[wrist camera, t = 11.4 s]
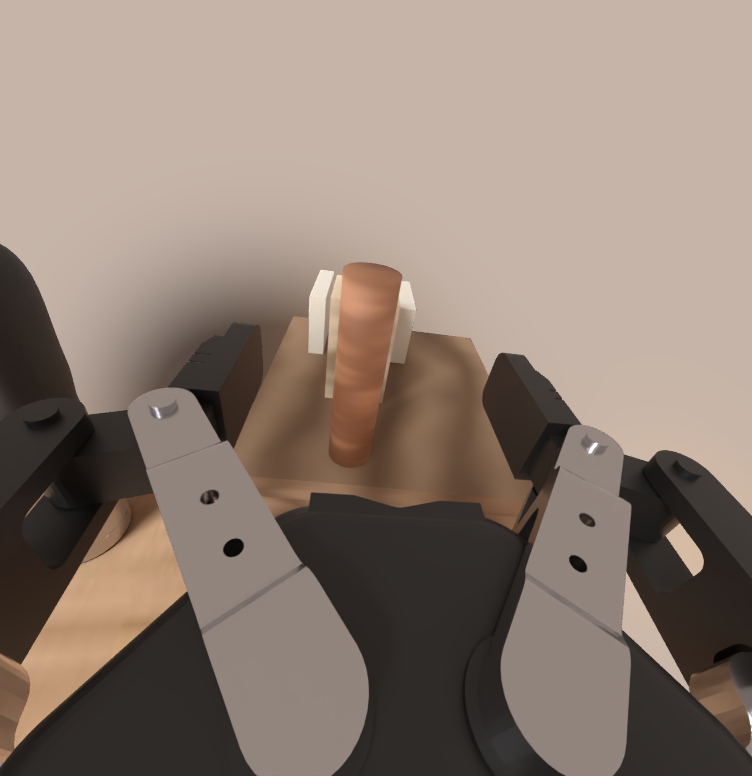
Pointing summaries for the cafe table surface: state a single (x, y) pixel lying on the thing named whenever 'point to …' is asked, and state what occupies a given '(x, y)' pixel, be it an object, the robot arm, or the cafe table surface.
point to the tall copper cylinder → (359, 356)
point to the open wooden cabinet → (381, 432)
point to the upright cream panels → (321, 315)
